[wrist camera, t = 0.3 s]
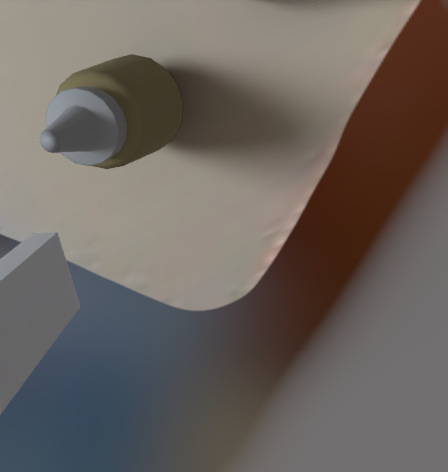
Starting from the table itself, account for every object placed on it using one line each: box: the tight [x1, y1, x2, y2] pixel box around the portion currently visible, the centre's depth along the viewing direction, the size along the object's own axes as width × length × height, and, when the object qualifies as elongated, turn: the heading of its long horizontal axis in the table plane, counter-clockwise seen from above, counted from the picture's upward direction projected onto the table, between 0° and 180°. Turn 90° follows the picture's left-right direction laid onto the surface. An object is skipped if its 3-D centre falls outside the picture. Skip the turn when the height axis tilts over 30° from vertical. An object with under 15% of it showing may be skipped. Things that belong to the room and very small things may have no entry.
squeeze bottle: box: [40, 54, 183, 169], centre depth 28 cm, size 8×8×18 cm
